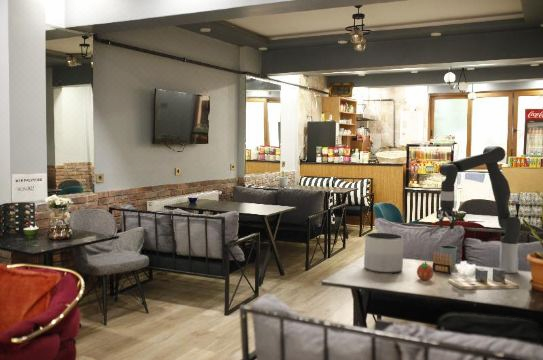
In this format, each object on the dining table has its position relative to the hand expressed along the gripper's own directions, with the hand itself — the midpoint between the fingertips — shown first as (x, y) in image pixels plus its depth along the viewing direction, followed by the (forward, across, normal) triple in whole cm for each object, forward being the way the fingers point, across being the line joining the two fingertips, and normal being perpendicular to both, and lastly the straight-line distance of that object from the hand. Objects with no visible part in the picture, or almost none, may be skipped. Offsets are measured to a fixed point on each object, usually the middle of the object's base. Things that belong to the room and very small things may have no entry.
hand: (446, 227), depth 295 cm
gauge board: (+27, -24, -5) cm, 36 cm away
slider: (+25, -23, -5) cm, 35 cm away
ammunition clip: (+27, +5, -2) cm, 28 cm away
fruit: (+27, -5, +18) cm, 33 cm away
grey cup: (+27, +16, -16) cm, 36 cm away
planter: (+27, +22, +27) cm, 44 cm away
